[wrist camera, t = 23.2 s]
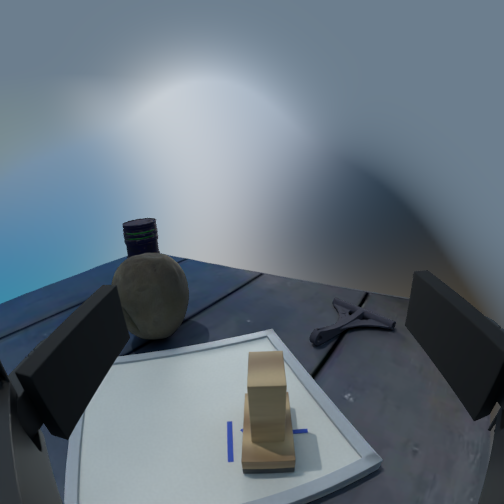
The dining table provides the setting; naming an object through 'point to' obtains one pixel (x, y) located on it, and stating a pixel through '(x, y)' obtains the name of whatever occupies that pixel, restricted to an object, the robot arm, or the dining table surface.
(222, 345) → the board
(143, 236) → the storage jar
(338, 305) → the bracket
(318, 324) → the dining table surface
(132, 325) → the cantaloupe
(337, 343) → the dining table surface
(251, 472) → the eraser
